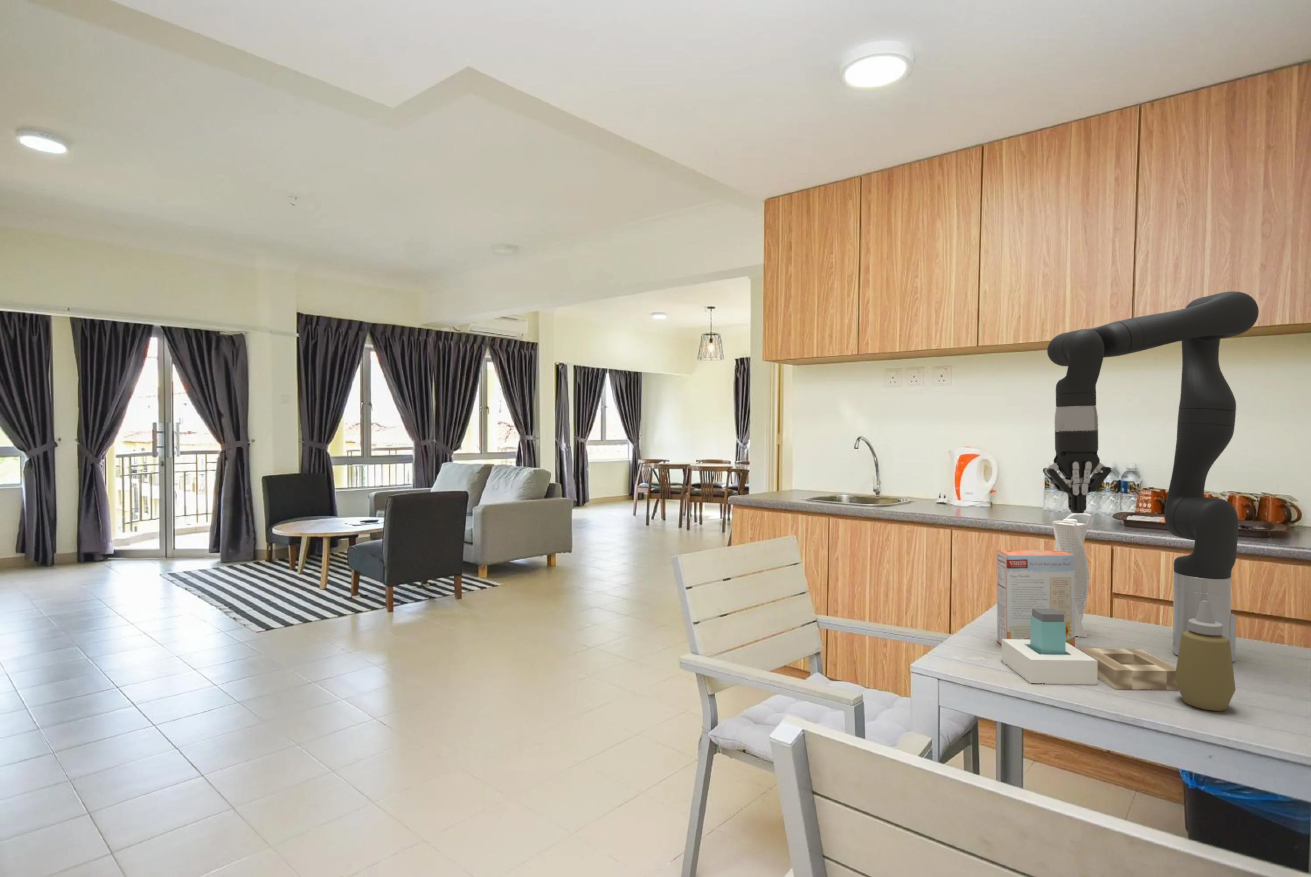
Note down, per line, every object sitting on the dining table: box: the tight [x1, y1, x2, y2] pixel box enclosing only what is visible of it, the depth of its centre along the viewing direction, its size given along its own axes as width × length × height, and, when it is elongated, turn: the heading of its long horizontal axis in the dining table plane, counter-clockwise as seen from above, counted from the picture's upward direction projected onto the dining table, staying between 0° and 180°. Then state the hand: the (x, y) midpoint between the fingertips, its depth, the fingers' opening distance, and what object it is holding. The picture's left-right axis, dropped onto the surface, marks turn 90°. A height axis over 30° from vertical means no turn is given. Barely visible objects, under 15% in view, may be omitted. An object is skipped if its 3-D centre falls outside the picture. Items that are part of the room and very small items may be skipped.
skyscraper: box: [1051, 512, 1092, 638], centre depth 154 cm, size 8×8×28 cm
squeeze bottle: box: [1175, 600, 1237, 712], centre depth 115 cm, size 8×8×18 cm
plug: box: [1030, 609, 1066, 655], centre depth 130 cm, size 4×4×12 cm
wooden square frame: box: [1077, 647, 1179, 691], centre depth 128 cm, size 12×12×4 cm
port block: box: [1001, 639, 1098, 686], centre depth 130 cm, size 12×12×5 cm
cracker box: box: [996, 549, 1076, 648], centre depth 145 cm, size 14×6×21 cm, turn 84°
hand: (1077, 512), depth 137 cm, fingers closed
